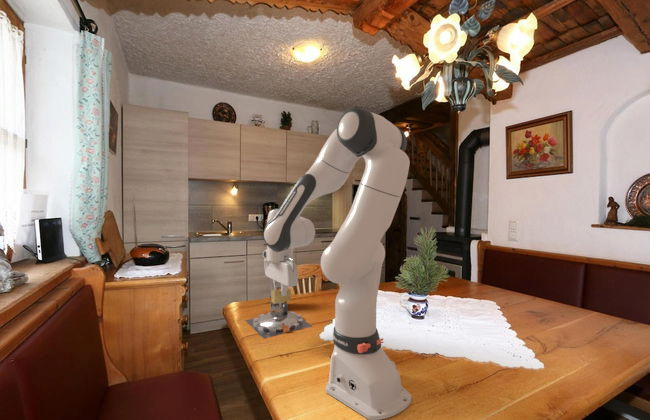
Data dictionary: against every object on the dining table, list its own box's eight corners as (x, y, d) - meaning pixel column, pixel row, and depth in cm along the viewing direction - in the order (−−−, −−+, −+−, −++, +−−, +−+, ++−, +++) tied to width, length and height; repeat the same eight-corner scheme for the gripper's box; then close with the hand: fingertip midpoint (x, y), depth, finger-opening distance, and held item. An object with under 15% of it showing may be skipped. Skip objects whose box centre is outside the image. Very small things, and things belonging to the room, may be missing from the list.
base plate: (312, 328, 116) (312, 326, 116) (263, 341, 105) (263, 338, 105) (289, 312, 133) (289, 310, 133) (245, 322, 122) (245, 320, 122)
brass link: (290, 300, 105) (290, 289, 105) (274, 303, 102) (274, 291, 102) (286, 298, 108) (286, 287, 108) (271, 301, 105) (271, 289, 104)
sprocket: (310, 317, 125) (310, 304, 124) (289, 336, 106) (289, 321, 106) (269, 311, 131) (269, 299, 131) (242, 329, 113) (242, 314, 113)
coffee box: (284, 312, 133) (284, 276, 132) (269, 312, 133) (269, 276, 133) (287, 306, 142) (287, 272, 142) (273, 305, 142) (273, 271, 142)
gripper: (302, 257, 98) (303, 299, 98) (276, 250, 115) (277, 286, 115) (284, 259, 94) (285, 303, 94) (260, 251, 111) (261, 288, 112)
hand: (280, 293), depth 105 cm, fingers closed on brass link, 3 cm apart
